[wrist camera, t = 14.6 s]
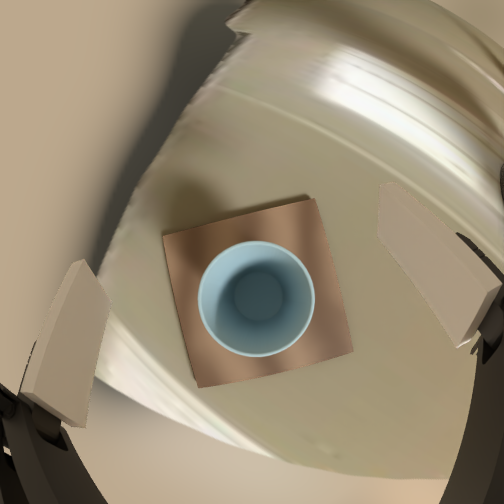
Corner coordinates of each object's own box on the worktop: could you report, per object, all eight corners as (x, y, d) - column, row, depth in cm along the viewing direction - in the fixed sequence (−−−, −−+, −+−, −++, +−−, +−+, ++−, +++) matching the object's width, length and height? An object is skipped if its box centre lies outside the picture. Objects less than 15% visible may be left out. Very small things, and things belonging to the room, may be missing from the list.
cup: (291, 338, 27) (305, 363, 17) (216, 327, 28) (190, 346, 18) (301, 265, 28) (321, 250, 18) (227, 255, 29) (206, 234, 19)
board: (313, 201, 30) (314, 198, 29) (350, 349, 28) (353, 351, 27) (165, 237, 30) (162, 236, 29) (200, 385, 28) (198, 388, 27)
